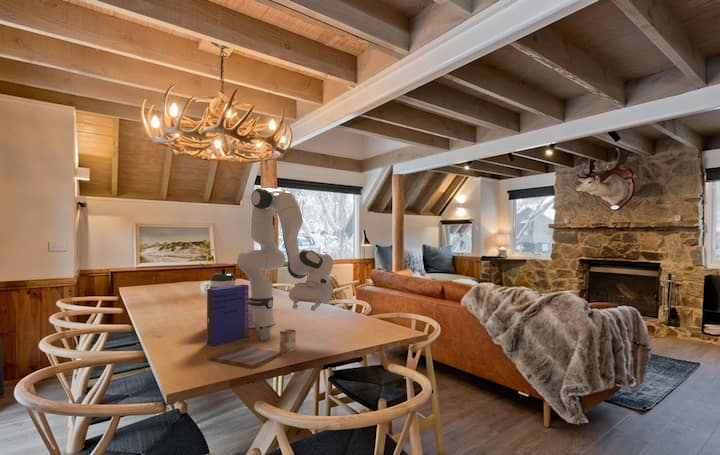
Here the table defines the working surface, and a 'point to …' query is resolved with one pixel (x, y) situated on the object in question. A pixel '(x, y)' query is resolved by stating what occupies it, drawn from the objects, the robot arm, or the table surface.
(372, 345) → the table surface
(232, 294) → the cereal box
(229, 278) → the coffee press
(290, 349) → the birch block
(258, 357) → the walnut board
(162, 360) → the table surface
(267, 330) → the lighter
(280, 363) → the table surface
